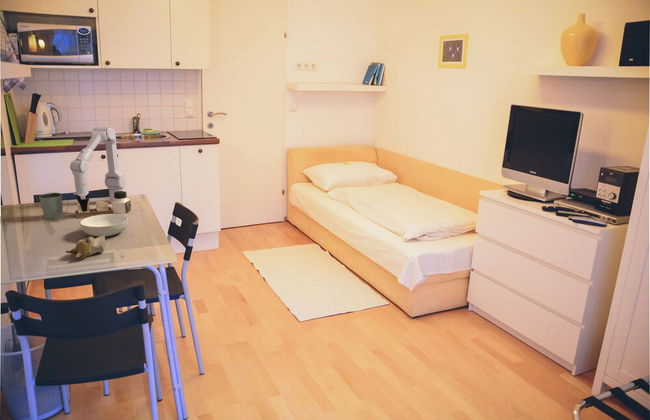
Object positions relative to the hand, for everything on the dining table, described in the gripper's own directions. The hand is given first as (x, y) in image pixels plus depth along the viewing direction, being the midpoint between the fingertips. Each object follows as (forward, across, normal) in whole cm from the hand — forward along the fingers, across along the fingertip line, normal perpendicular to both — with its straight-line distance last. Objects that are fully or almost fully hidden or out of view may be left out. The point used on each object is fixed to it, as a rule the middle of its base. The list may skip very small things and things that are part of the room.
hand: (84, 209), depth 264 cm
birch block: (+3, 0, 0) cm, 3 cm away
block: (+3, 0, +9) cm, 9 cm away
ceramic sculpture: (+4, +58, -1) cm, 58 cm away
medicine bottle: (+4, +1, +18) cm, 18 cm away
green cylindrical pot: (+4, -5, -14) cm, 16 cm away
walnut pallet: (+4, 0, +4) cm, 6 cm away
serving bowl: (+4, +32, +8) cm, 33 cm away
